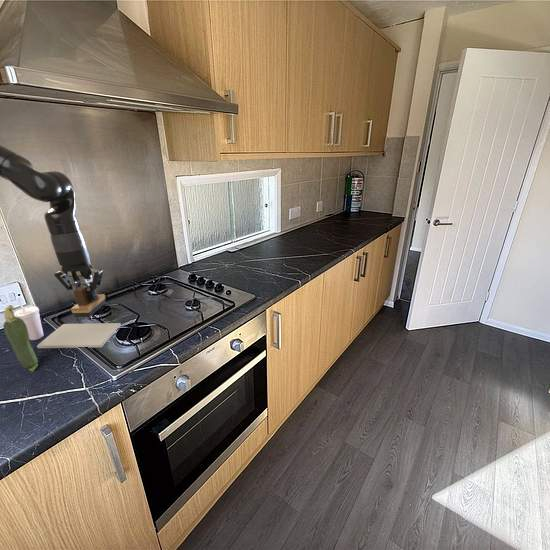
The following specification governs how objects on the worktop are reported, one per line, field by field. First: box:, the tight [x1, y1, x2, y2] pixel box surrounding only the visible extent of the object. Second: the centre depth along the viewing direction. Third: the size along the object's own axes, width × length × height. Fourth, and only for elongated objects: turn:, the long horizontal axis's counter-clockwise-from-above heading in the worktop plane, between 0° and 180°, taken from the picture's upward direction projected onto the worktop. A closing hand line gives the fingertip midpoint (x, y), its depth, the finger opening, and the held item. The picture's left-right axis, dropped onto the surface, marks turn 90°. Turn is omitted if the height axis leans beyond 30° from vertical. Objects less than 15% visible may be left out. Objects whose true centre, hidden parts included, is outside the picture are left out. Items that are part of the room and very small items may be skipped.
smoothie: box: [13, 298, 45, 341], centre depth 92 cm, size 6×6×14 cm
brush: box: [70, 285, 107, 318], centre depth 89 cm, size 9×5×8 cm, turn 179°
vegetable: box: [3, 304, 39, 372], centre depth 77 cm, size 4×4×20 cm
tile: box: [36, 322, 122, 349], centre depth 94 cm, size 20×12×1 cm, turn 89°
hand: (88, 300), depth 89 cm, fingers closed on brush, 2 cm apart
